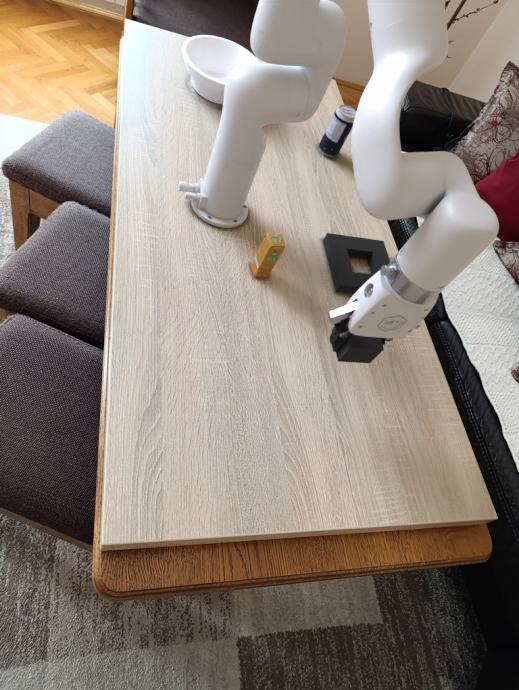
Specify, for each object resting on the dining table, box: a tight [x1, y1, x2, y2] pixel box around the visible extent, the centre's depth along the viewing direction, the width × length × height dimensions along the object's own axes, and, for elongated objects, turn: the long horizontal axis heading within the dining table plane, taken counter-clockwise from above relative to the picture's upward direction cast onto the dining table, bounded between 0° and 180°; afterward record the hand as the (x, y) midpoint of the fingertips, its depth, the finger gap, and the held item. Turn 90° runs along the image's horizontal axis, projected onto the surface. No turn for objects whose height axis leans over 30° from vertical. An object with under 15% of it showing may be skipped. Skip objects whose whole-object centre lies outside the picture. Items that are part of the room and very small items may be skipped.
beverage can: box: [318, 104, 357, 158], centre depth 128 cm, size 6×6×12 cm
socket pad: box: [322, 232, 391, 295], centre depth 112 cm, size 15×15×2 cm
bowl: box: [181, 34, 260, 105], centre depth 128 cm, size 21×21×8 cm
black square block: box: [330, 322, 385, 364], centre depth 79 cm, size 6×6×4 cm
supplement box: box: [250, 232, 286, 278], centre depth 99 cm, size 3×3×10 cm
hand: (351, 344), depth 80 cm, fingers closed on black square block, 5 cm apart
